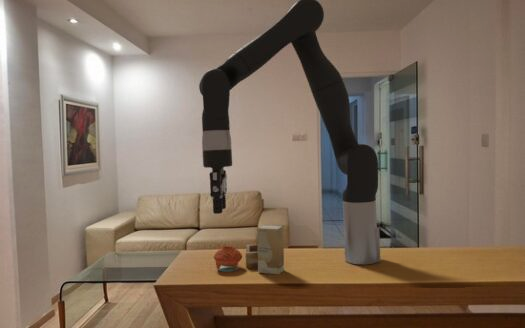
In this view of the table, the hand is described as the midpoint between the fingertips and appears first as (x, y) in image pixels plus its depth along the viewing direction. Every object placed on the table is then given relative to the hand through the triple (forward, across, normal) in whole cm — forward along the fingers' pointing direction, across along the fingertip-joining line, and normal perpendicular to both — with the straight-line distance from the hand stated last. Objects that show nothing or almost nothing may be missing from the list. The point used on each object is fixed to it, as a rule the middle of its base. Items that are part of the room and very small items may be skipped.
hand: (220, 211), depth 100 cm
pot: (+18, +8, -1) cm, 19 cm away
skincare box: (+18, +4, -13) cm, 22 cm away
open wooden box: (+18, +13, -10) cm, 24 cm away
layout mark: (+18, +8, -1) cm, 19 cm away
